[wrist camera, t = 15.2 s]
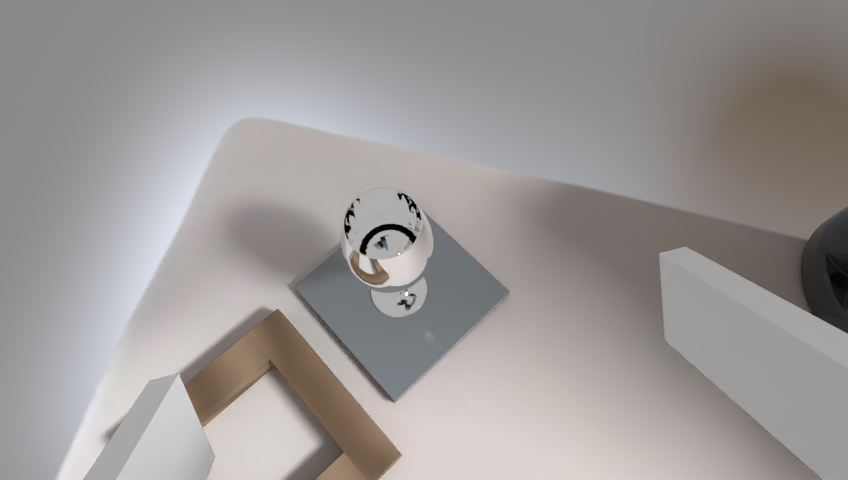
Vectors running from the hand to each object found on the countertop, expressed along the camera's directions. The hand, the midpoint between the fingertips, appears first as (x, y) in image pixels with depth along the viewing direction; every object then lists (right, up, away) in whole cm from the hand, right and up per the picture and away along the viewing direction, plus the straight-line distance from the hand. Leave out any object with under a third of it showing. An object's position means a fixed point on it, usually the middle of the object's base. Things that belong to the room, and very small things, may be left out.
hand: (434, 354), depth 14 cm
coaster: (-2, -1, +27) cm, 28 cm away
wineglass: (-2, -1, +27) cm, 27 cm away
